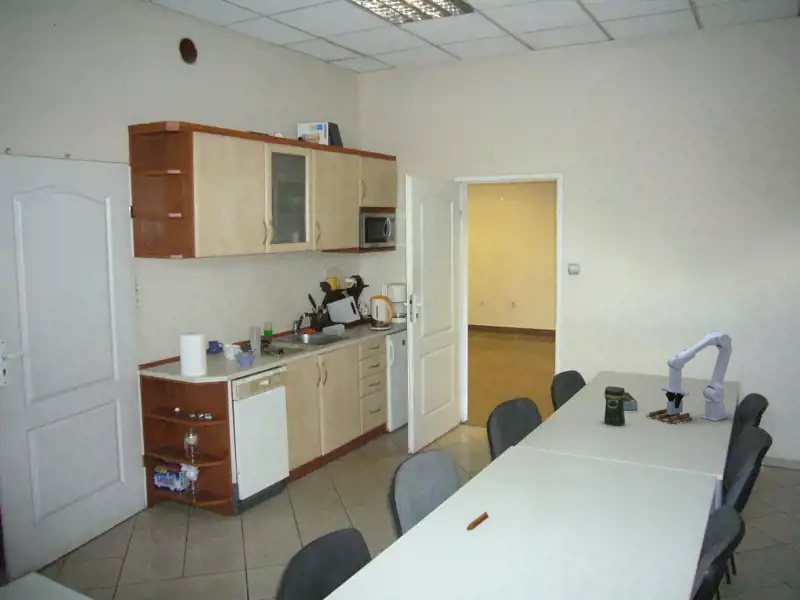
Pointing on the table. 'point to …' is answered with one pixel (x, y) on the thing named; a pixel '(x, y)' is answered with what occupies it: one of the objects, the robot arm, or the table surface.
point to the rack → (669, 416)
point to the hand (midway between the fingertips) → (674, 407)
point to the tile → (672, 409)
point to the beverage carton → (629, 403)
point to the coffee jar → (614, 405)
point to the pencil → (478, 521)
